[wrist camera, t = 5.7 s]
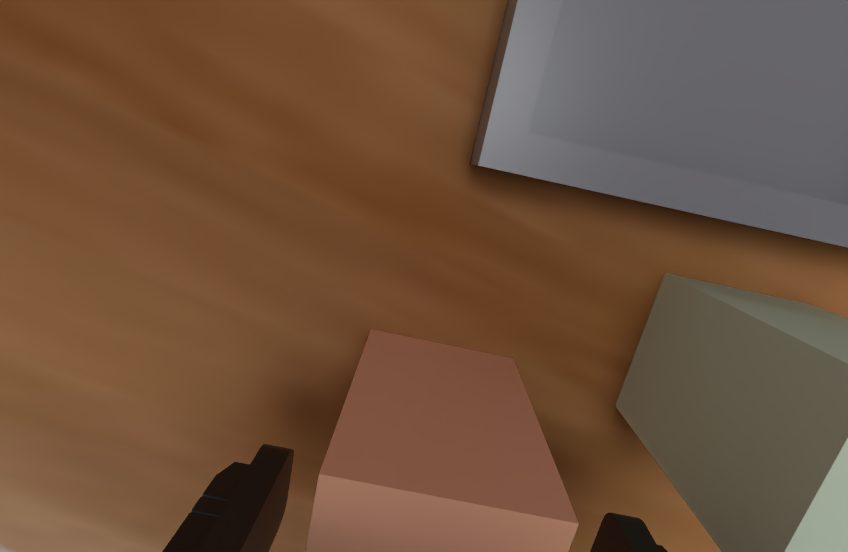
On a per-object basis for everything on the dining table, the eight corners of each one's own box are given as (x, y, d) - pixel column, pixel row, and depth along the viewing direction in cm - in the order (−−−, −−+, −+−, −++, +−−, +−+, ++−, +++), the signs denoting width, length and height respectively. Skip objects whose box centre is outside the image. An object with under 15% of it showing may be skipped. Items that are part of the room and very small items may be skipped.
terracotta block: (347, 450, 16) (285, 663, 9) (370, 328, 15) (319, 473, 8) (477, 476, 16) (510, 703, 10) (513, 358, 15) (578, 524, 8)
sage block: (614, 405, 15) (757, 599, 9) (665, 272, 14) (879, 380, 7) (748, 432, 16) (990, 643, 9) (810, 303, 14) (1150, 436, 8)
